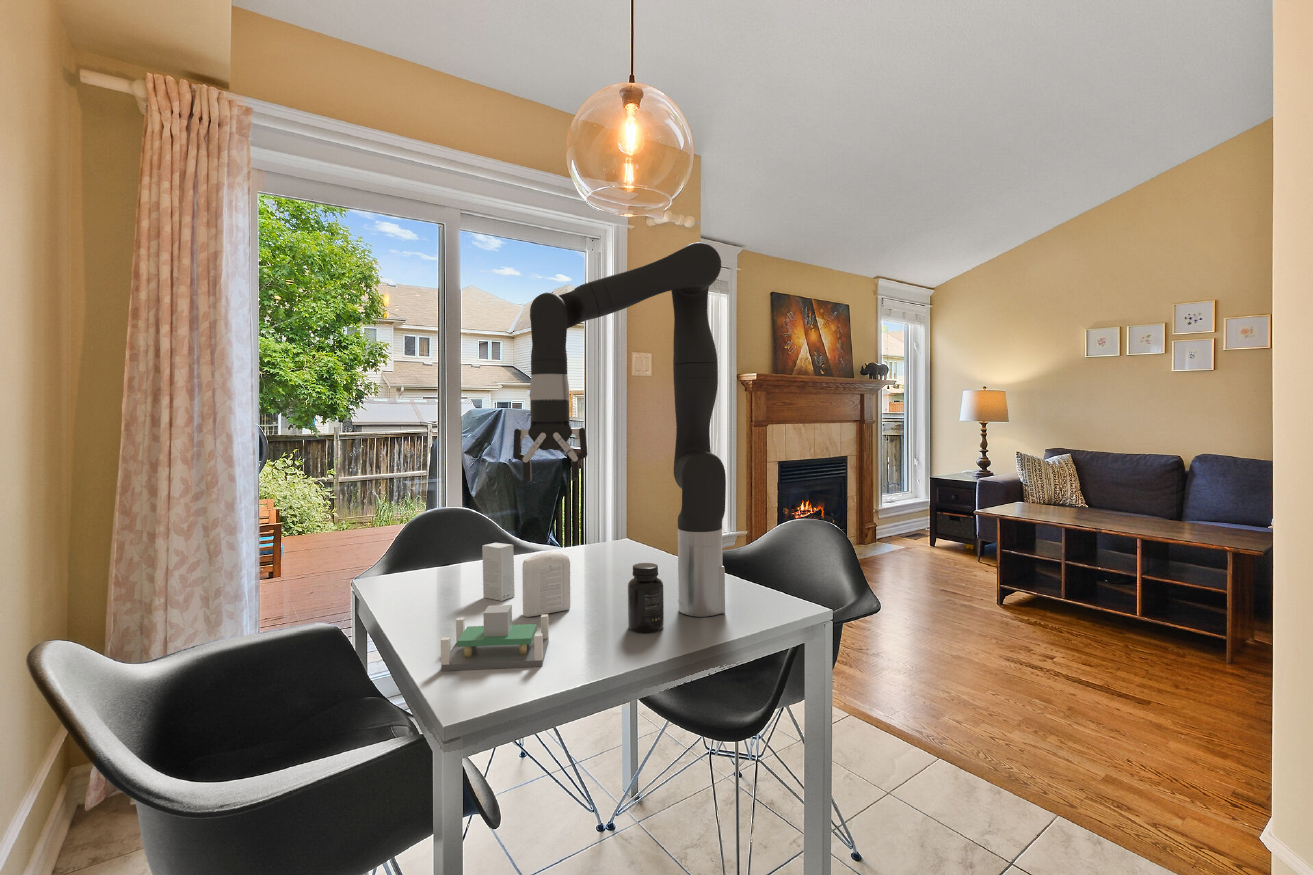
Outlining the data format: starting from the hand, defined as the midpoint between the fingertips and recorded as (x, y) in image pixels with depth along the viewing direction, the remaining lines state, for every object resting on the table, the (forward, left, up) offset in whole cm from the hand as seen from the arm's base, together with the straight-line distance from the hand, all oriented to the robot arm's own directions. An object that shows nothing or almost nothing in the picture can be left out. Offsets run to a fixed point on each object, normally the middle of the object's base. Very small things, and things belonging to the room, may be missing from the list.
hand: (551, 480), depth 119 cm
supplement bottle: (-18, +5, -28) cm, 34 cm away
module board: (+8, +16, -25) cm, 31 cm away
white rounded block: (+2, -7, -28) cm, 29 cm away
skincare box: (+14, -19, -28) cm, 37 cm away
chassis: (+8, +16, -28) cm, 33 cm away
